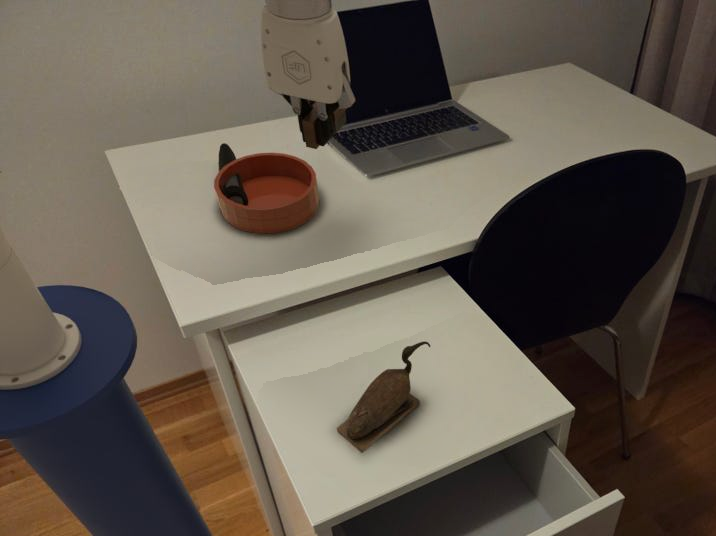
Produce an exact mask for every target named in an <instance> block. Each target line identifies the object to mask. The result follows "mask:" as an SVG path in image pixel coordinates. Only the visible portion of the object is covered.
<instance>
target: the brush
mask: <svg viewBox="0 0 716 536" xmlns="http://www.w3.org/2000/svg"><path fill="white" fill-rule="evenodd" d="M312 106H313V110H312V111H311V112H310V113H309V114H308V115H307V116H306V117H305V118H304V119H303V120H302V123H303V129H304V136H305V142H304V143H305V147H306V148H310V149H313V150H317V149H319V147H320V145H319V144H318V138H317V130H316V123H315V120H316V118H317V117H318V110H317V101H314V103H313V104H312ZM347 109H348V108H342V109H337V110H336V111H335V112H333V113H332V120H333V129H334V134H338V132H339V131H340V130H341V128H342V127H343V126H344V125H345V124H346V123H347V114H346V110H347Z"/></svg>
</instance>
